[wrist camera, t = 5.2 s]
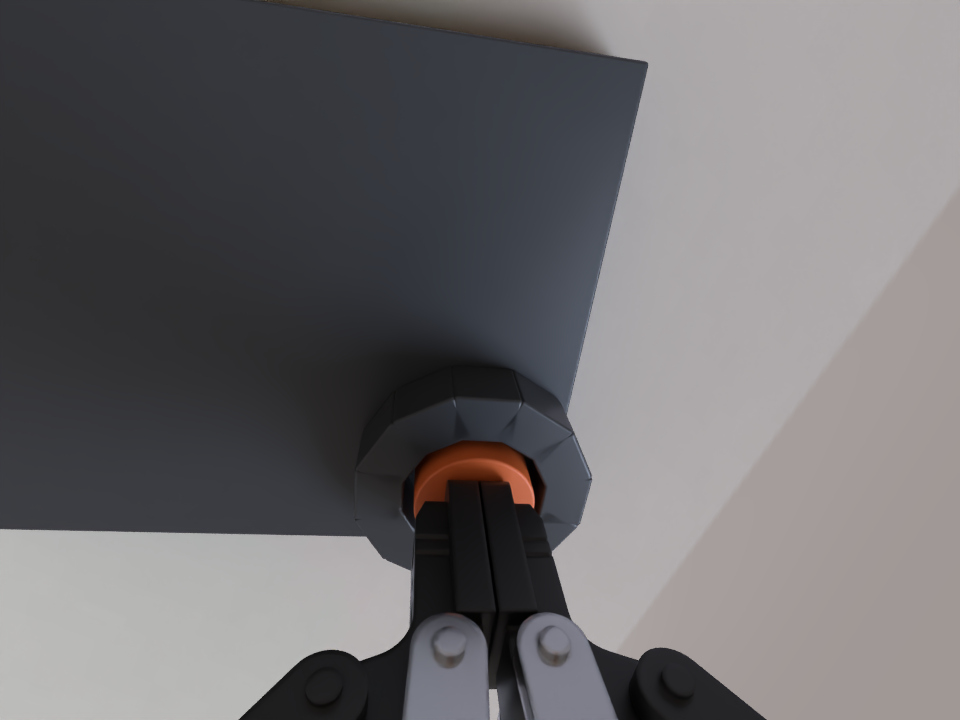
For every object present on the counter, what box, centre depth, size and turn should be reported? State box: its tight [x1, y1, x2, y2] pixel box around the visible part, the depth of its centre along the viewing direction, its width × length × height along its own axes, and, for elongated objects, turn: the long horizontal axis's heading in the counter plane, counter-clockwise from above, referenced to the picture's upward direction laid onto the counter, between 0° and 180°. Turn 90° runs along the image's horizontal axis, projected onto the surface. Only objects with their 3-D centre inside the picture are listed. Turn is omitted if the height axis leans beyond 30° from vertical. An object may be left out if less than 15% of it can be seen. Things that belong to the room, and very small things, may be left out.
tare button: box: [414, 440, 535, 519], centre depth 13 cm, size 3×3×2 cm
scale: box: [0, 0, 648, 571], centre depth 12 cm, size 16×13×3 cm
